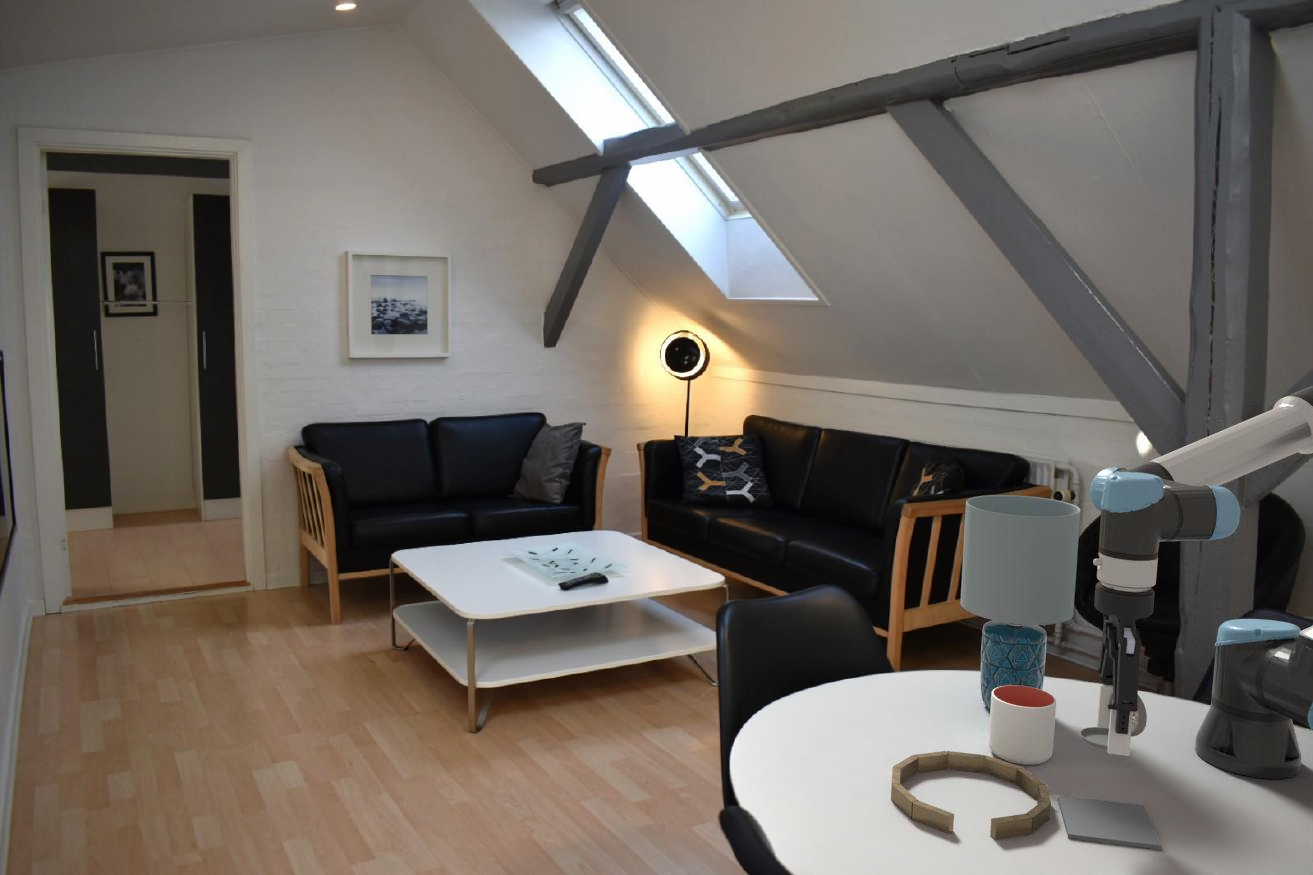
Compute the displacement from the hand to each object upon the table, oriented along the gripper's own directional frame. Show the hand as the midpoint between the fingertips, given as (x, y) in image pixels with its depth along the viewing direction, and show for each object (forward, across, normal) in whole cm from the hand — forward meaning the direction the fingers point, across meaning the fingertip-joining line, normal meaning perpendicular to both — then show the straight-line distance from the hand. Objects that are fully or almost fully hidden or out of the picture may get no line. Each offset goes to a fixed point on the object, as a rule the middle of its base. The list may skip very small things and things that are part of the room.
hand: (1112, 740), depth 151 cm
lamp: (+13, -41, -10) cm, 44 cm away
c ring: (+12, -2, -19) cm, 23 cm away
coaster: (+12, 0, 0) cm, 12 cm away
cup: (+13, -21, -10) cm, 26 cm away
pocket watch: (0, 0, 0) cm, 0 cm away
